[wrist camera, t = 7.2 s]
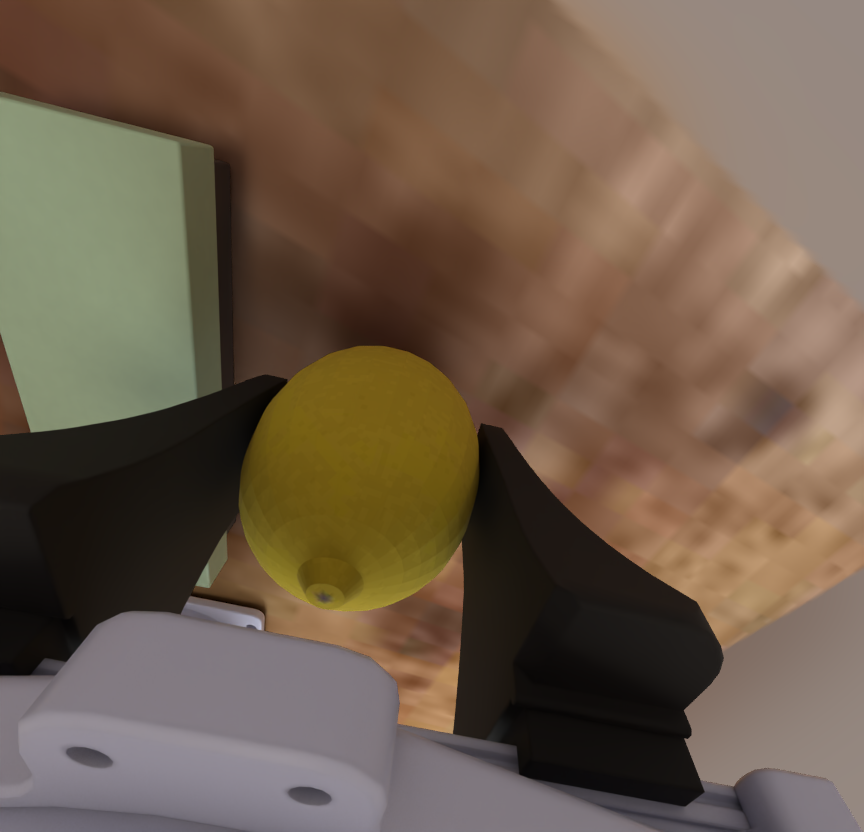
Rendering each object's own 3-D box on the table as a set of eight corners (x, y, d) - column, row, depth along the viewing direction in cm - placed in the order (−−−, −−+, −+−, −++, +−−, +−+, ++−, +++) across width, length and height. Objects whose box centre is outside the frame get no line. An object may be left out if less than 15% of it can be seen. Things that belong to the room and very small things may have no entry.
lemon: (505, 354, 13) (552, 552, 6) (434, 479, 16) (410, 717, 9) (338, 278, 12) (180, 409, 5) (292, 424, 15) (145, 637, 8)
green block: (246, 529, 18) (209, 589, 15) (127, 504, 18) (69, 561, 15) (246, 149, 11) (179, 141, 8) (50, 99, 11) (-82, 75, 8)
